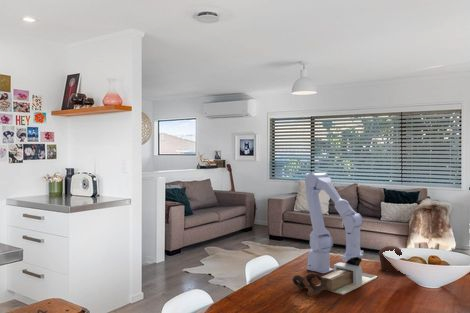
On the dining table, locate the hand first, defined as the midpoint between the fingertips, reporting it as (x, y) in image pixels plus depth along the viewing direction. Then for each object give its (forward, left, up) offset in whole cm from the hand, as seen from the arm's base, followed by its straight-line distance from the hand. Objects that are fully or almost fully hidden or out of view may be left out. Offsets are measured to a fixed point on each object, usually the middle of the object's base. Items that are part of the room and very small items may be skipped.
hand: (353, 275), depth 164 cm
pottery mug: (-5, -25, -2) cm, 26 cm away
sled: (0, -11, -1) cm, 11 cm away
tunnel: (0, -4, -2) cm, 5 cm away
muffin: (+5, +26, -2) cm, 27 cm away
